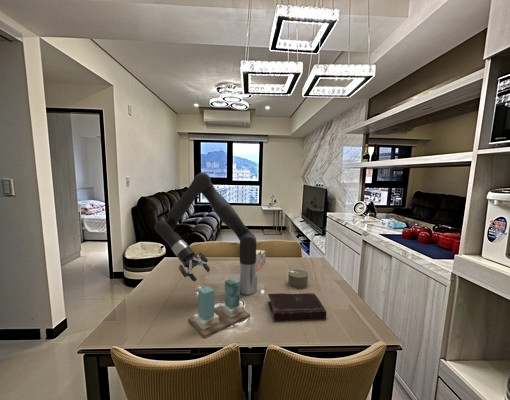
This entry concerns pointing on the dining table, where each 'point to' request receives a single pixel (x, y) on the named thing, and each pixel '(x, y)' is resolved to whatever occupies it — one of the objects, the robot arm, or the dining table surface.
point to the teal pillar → (206, 302)
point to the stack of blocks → (260, 258)
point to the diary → (296, 306)
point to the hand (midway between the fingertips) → (202, 275)
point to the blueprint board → (222, 312)
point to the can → (297, 278)
